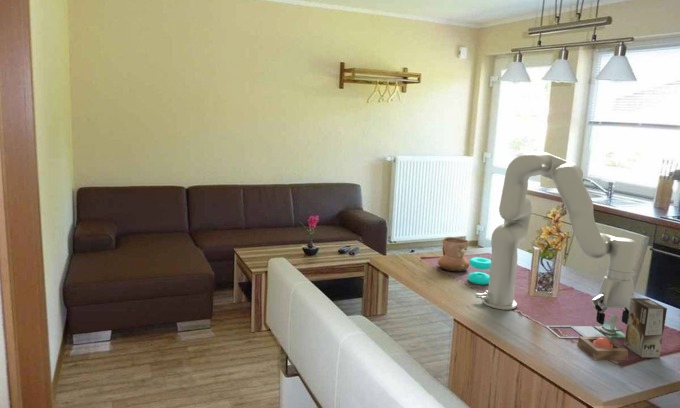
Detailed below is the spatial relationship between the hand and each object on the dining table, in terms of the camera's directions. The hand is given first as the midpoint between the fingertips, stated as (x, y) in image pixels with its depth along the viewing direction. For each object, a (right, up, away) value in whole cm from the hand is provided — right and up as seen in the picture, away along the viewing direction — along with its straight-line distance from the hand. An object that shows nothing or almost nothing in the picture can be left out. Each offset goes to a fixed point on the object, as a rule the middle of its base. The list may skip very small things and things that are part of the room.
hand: (612, 323), depth 177 cm
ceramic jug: (-40, +10, +68) cm, 79 cm away
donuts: (-32, +6, +50) cm, 60 cm away
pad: (0, -3, +1) cm, 3 cm away
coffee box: (+2, -6, -13) cm, 15 cm away
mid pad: (-8, -3, 0) cm, 9 cm away
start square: (-17, -3, -1) cm, 17 cm away
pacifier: (-1, -3, +1) cm, 3 cm away
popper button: (-12, -5, -16) cm, 20 cm away
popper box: (-12, -6, -16) cm, 20 cm away
